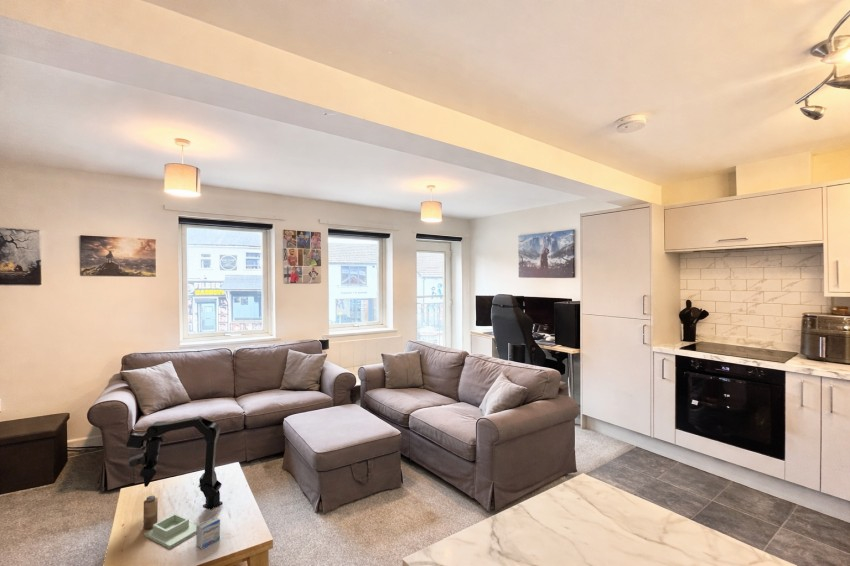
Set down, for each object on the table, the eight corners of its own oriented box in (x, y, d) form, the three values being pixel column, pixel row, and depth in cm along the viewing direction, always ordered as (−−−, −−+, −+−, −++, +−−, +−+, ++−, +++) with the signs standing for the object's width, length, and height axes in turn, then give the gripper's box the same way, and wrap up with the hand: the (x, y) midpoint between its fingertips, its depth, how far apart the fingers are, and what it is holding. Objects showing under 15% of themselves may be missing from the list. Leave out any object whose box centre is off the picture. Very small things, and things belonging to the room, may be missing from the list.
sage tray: (202, 530, 176) (202, 520, 176) (169, 548, 164) (169, 538, 164) (177, 518, 184) (177, 509, 184) (144, 535, 172) (144, 526, 172)
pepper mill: (159, 524, 180) (160, 496, 180) (147, 531, 175) (147, 501, 175) (153, 521, 182) (153, 493, 182) (140, 527, 177) (141, 498, 177)
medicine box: (201, 549, 164) (201, 528, 164) (195, 545, 166) (196, 525, 166) (220, 539, 170) (220, 519, 170) (214, 535, 173) (214, 515, 173)
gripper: (134, 442, 194) (128, 474, 194) (129, 459, 178) (123, 494, 178) (161, 441, 200) (155, 472, 199) (158, 457, 184) (152, 490, 183)
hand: (146, 481), depth 190 cm, fingers open, 9 cm apart
